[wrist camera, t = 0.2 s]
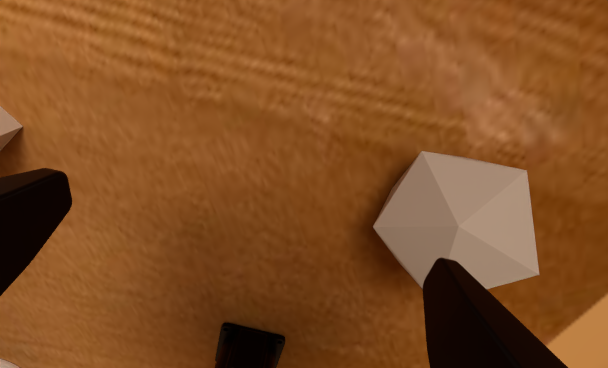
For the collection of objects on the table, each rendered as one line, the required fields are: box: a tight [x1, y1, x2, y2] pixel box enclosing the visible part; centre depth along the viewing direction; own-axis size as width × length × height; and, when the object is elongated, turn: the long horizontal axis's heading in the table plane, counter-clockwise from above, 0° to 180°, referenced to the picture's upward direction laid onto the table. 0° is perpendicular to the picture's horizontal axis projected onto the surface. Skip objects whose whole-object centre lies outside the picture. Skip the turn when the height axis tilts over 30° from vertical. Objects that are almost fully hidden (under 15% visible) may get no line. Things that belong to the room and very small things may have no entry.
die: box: [373, 151, 539, 289], centre depth 20 cm, size 8×9×10 cm
